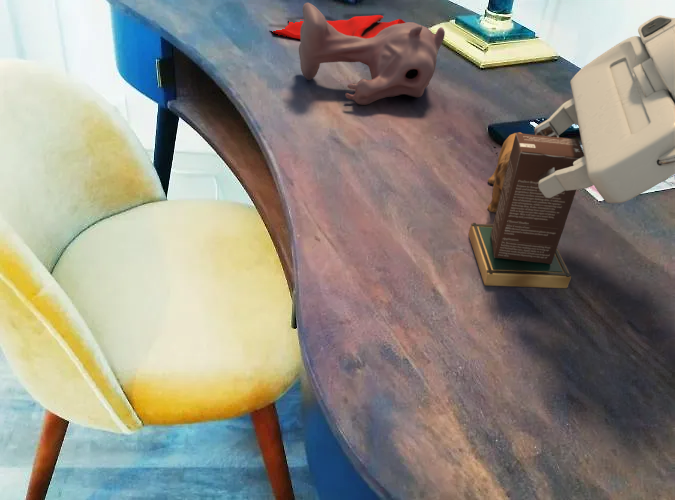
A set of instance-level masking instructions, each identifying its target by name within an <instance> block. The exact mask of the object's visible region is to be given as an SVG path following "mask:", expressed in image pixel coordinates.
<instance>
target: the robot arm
mask: <svg viewBox="0 0 675 500" xmlns="http://www.w3.org/2000/svg"><path fill="white" fill-rule="evenodd" d="M637 33H638V35H634V36H629V37H628V38H625V39H624V40H622V41H620V42H618V43H617V44H615V45H614V46H613V47H611V48H609V49H608V50H606V51H605V52H603V53H602V54H600V55H599V56H597V57H595V59H593V60H591V61H589V63H587V64H586V65H584V66H583V67H582V68H580V70H579V71H577V72H576V74H575V75H574V76H573V77H572V78H571V79H570V81H569V82H570V83H569V84H570V88H571V93H572V98H570V99H569V100H567V101H565V102H564V103H562V104H561V105H560V106H559V107H558V108H557V109H556V110H555V111H554V112H553V113H552V114H551V115H550V116H549V117H548V119H546V120H544V121H542V122H540V123H539V124H538V125H536V126H535V127H534V129H533V130H534V135H540V136H549V137H559V138H560V135H561V134H563V133H564V132H565V131H566V130H568V129H569V128H570V127H572V126H573V125H575V126H578V130H579V136H580V142H581V148H582V150H583V153H584V156H583V157H582V158H580V159H578V160H576V161H574V162H573V165H574V166H571V167H568V168H564V169H561V170H556V169H555V167H553V168H551V169H549V170H547V171H546V172H545V173H542V174H540V175H539V176H538V186H539V189H540V191H541V192H542V193H543V195H544V196H545V197H547V198H551V197H553V196H555V195H557V194H559V193H561V192H563V191H565V190H566V191H568V190H576V191H577V190H585V189H589V188H591V187H594V188H595V190H596V191H597V193H598V194H599V195H600V197H601V198H602V199H603V200H604V201H605V203H607V204H621V203H626V202H628V201H630V200H632V199H634V198H636V197H637V196H640V195H641V194H643V193H645V192H647V191H649V190H651V189H652V188H654V187H656V186H658V185H659V184H661V183H662V182H664V181H666V180H667V179H669V178H671V177H672V176H674V175H675V17H669V16H665V15H655V16H653V17H651V18H649V19H648V20H646V21H645V22H643V23H641V24H640V25H639V27H638V28H637Z"/></svg>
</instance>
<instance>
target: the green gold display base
mask: <svg viewBox="0 0 675 500" xmlns="http://www.w3.org/2000/svg"><path fill="white" fill-rule="evenodd" d="M492 227H493V224H491V223H489V224H488V223H476V222H472V223H470V227H469V230H468V238H469V241H470V244H471V248H472V250H473V253H474V257H475V259H476V263H477V267H478V269H479V272H480V277H481V279H482V282H483V286H491V287H492V286H493V287H494V286H495V287H519V288H520V287H521V288H549V289H553V288H554V289H568V287H569V284H570V282H571V279H572V274H571V272H569V269H568V268H567V265H566V264H565V261H564V259H563V257H562V255H561V254H560V251H559V249H558V248H557V249H556V252H555V255H554V258H553V261H552V264H547V263H539V262H530V261H522V260H512V259H503V258H494V254H493V247H492V240H491V231H492Z"/></svg>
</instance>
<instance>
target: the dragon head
mask: <svg viewBox="0 0 675 500" xmlns="http://www.w3.org/2000/svg"><path fill="white" fill-rule="evenodd" d="M302 17H303V20H304V21H303V23H302V26H301V30H300V37H301V38H300V39H299V40H300V43H299V46H298V55H299V56H298V57H299V62H300V63H299V64H300V65H299V66H300V71H301V73H302V75H303V77H304V78H305V79H306V80H308V81H311V80H313V79H314V78H315V77H316V76H317V75H318V72H319V69H320V65H321V64H325V63H326V64H327V63H361V64H363V65H365V66H368V68H369V72H370V77H371V79H366V78H362V79H360V80H359V81H358V82H357V83H348V84H347V87H346V88H348V89H350V90H353V91H354V90H355V91H354V94H351V93H348V92H346V93H345V94H344V96H345V98H346V99H348V100H352V101H354V102H355V103H356V104H358V105H360V106H366V105H370V104H372V103H374V102H375V101H378V100H381V99H384V98H395V97H402V98H404V97H411V98H421V97H422V96H423V95H424V92H425V89H426V88H427V87H428V86H429V84H430V81H431V80H432V79H433V76H434V73H435V70H436V66H437V61H438V59H437V58H438V54H439V50H440V48H441V46H442V44H443V42H444V39H445V34H446V33H445V31H446V30H445V29H444V28H443V27H442V26H440V27H439V28H438V29H437V31H436V32H435V33H433V32H432V31H431V30H430V28H429V27H426V26H424V25H421V24H419V23H416V22H413V21H412V22H411V21H409V22H406V23H402V24H395V25H392V26H389V27H387V28H385V29H383V30H382V31H380V32H379V33H378V34H377V35H376V36H375V37H373V38H367V39H365V38H361V37H357V36H349V35H345V34H342V33H340V32H338V31H337V30H336V29H335V28H334V27H333V26H331V25H330V24H329V23H328V22H327V21H328V20H327V18H326V17H325V15H324V14H323V13H322V12H321V11H320V10H319V9H318V8H317V7H316V5H313V3H311V2H305V3H304V4H303V6H302Z"/></svg>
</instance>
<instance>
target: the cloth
mask: <svg viewBox="0 0 675 500" xmlns="http://www.w3.org/2000/svg"><path fill="white" fill-rule="evenodd" d="M382 19H384V16H383V15H381V14H374V15H361V16H360V15H358V16H352V17H351V18H349V19H338V20H337V19H336V20H326V21H327V22H328V23H329V24H330V25H331V26H333V27H334V28H335V29H336V30H337V31H338V32H340V33H342V34H345V35H349V36H357V37H361V38H365V39H367V38H373V37H375V36H376V35H377V34H378V33H379V32H380V31H382V30H383V29H385V28H387V27H389V26H392V25H395V24H402V23H407V22H406V21H405V20H403V19H401V18H398V19H395V20H392V21H382ZM302 23H303V21H300V22H295V23H293V22H289V23H288V24H287V25H286V26H284V28H285V29H282V30H276V31H273V33H272V34H275V35H276V34H278V35H277V36H280V35H283V36H282V37H286V36H287V37H286V38H291V39H296V40H300V38H301V37H300V30H301V26H302Z"/></svg>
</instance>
